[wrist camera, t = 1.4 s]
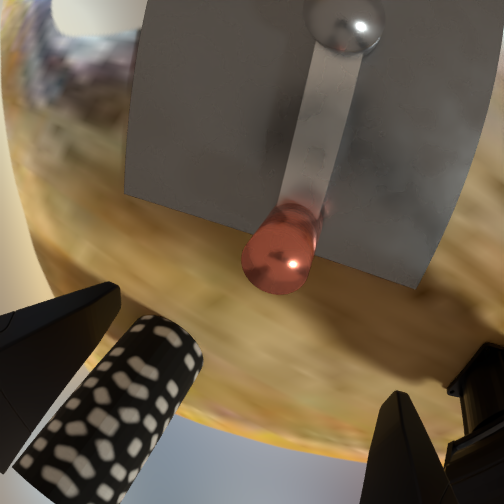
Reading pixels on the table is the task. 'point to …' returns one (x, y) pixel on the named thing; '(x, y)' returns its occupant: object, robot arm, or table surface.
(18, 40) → the table surface
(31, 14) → the table surface
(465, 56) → the base
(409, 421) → the robot arm
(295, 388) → the table surface
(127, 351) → the spotted tube
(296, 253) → the lever
